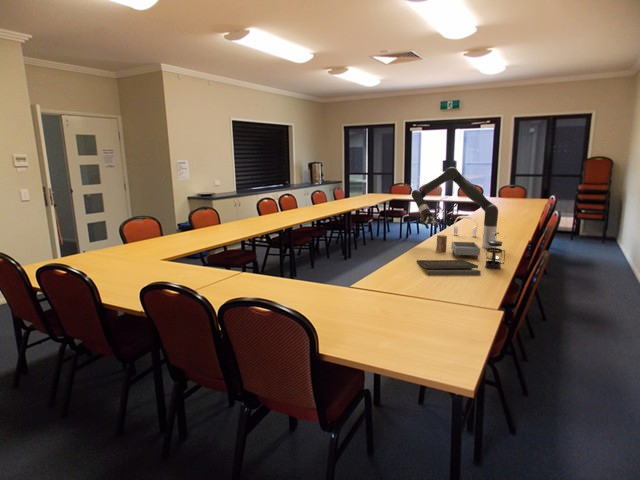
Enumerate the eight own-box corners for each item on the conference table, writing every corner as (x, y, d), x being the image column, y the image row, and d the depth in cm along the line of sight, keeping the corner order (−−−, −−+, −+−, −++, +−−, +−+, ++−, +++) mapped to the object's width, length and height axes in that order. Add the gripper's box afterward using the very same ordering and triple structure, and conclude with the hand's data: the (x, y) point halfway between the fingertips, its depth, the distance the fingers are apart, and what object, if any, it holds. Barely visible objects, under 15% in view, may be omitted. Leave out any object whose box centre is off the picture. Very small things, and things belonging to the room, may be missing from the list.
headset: (452, 235, 365) (453, 215, 361) (453, 234, 371) (454, 214, 368) (476, 237, 357) (477, 217, 353) (477, 235, 363) (478, 216, 359)
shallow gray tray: (473, 252, 302) (474, 242, 300) (479, 259, 283) (480, 248, 281) (451, 252, 305) (451, 241, 303) (455, 258, 285) (456, 247, 284)
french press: (483, 268, 262) (486, 233, 257) (484, 264, 270) (487, 230, 265) (503, 270, 257) (506, 234, 252) (503, 266, 265) (507, 231, 261)
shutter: (416, 270, 279) (428, 278, 248) (416, 260, 278) (428, 266, 247) (463, 267, 278) (481, 275, 247) (463, 257, 278) (481, 264, 247)
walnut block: (441, 250, 311) (442, 234, 308) (445, 251, 306) (446, 235, 304) (436, 250, 309) (437, 235, 307) (440, 252, 305) (441, 236, 302)
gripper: (419, 208, 318) (427, 225, 310) (434, 208, 323) (442, 224, 315) (415, 214, 324) (422, 231, 316) (430, 213, 329) (438, 230, 321)
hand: (432, 228), depth 315 cm, fingers open, 8 cm apart
